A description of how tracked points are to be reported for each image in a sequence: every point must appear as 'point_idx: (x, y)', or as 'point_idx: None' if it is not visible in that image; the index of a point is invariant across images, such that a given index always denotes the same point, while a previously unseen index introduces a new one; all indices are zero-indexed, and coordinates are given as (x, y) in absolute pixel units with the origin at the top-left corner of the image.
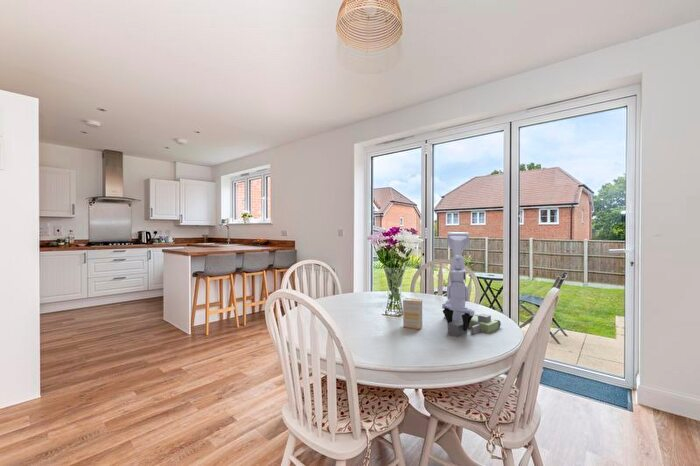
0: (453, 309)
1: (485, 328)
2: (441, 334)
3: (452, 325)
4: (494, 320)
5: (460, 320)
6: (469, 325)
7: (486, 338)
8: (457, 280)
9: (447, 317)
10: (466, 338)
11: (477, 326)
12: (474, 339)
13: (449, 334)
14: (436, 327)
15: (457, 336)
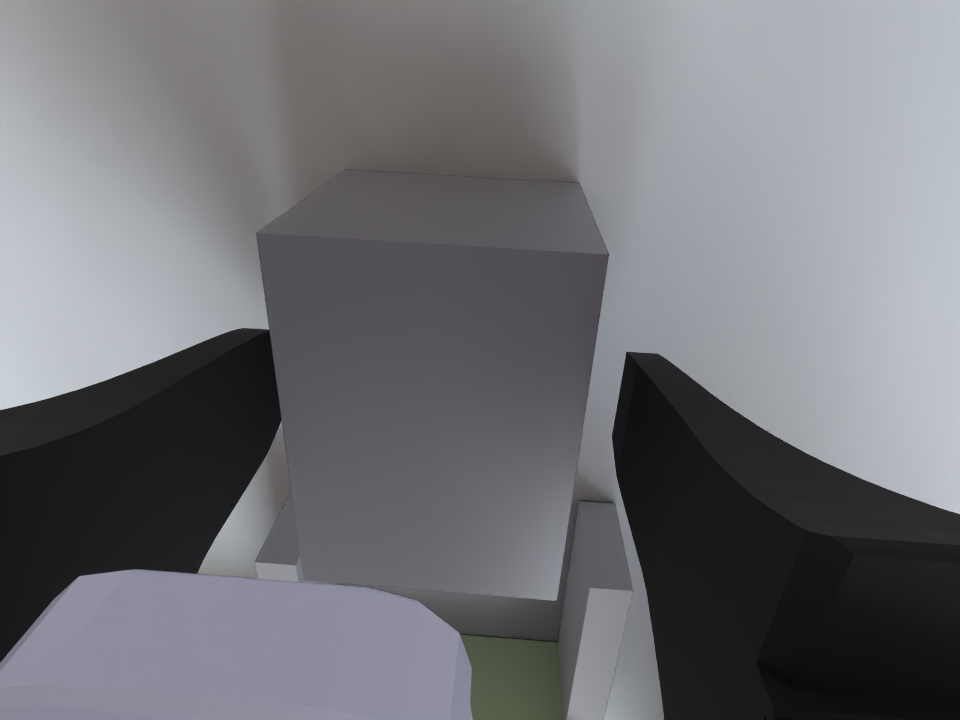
0: (61, 653)
1: None
2: (667, 52)
3: (444, 237)
4: None
5: (602, 696)
6: (477, 667)
7: None
8: None
9: (716, 442)
10: (223, 240)
11: None
12: (125, 297)
13: (537, 182)
14: (920, 348)
15: (347, 171)
